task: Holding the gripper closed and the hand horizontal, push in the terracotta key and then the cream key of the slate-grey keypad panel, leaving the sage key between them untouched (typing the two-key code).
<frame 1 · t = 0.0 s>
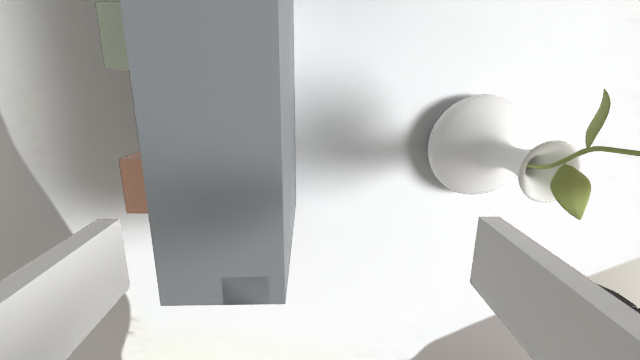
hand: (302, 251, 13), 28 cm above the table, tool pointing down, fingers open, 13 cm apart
sage key: (163, 40, 26), point 11 cm above the table, slide at 0.0 cm
terracotta key: (178, 179, 29), point 11 cm above the table, slide at 0.0 cm
keypad panel: (256, 53, 37), on the table
flower in vase: (473, 137, 41), on the table
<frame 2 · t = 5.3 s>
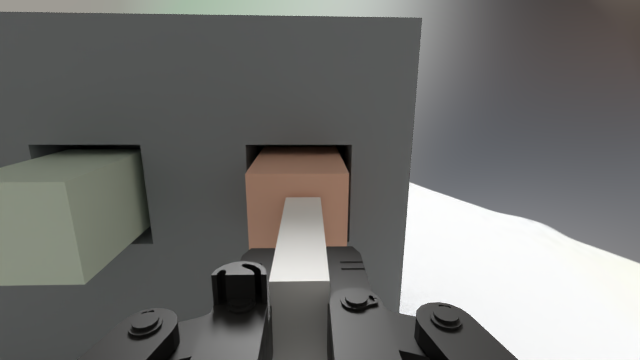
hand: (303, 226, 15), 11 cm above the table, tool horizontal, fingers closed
sage key: (75, 206, 17), point 11 cm above the table, slide at 0.0 cm
terracotta key: (299, 197, 19), point 11 cm above the table, slide at 1.2 cm
keypad panel: (151, 322, 25), on the table
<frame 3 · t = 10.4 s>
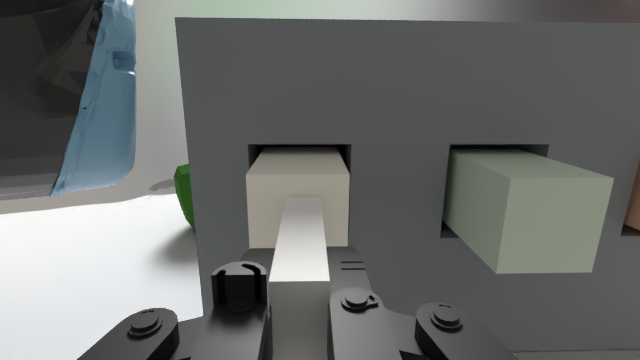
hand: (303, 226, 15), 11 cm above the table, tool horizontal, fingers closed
bell pepper: (216, 226, 43), on the table
sage key: (507, 201, 18), point 11 cm above the table, slide at 0.0 cm
keypad panel: (445, 313, 26), on the table
cream key: (300, 198, 19), point 11 cm above the table, slide at 0.7 cm, touching gripper
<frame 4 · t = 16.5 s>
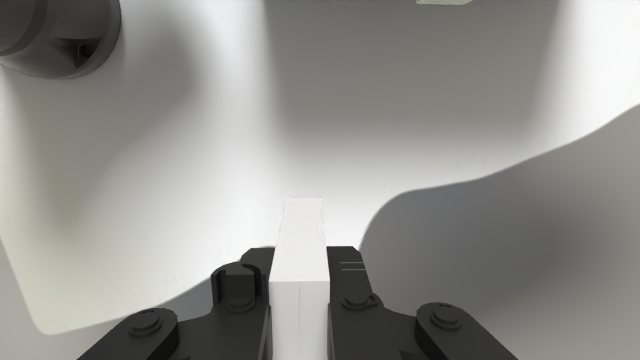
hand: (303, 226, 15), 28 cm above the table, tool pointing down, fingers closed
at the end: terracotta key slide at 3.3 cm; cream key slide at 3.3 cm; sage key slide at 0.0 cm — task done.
